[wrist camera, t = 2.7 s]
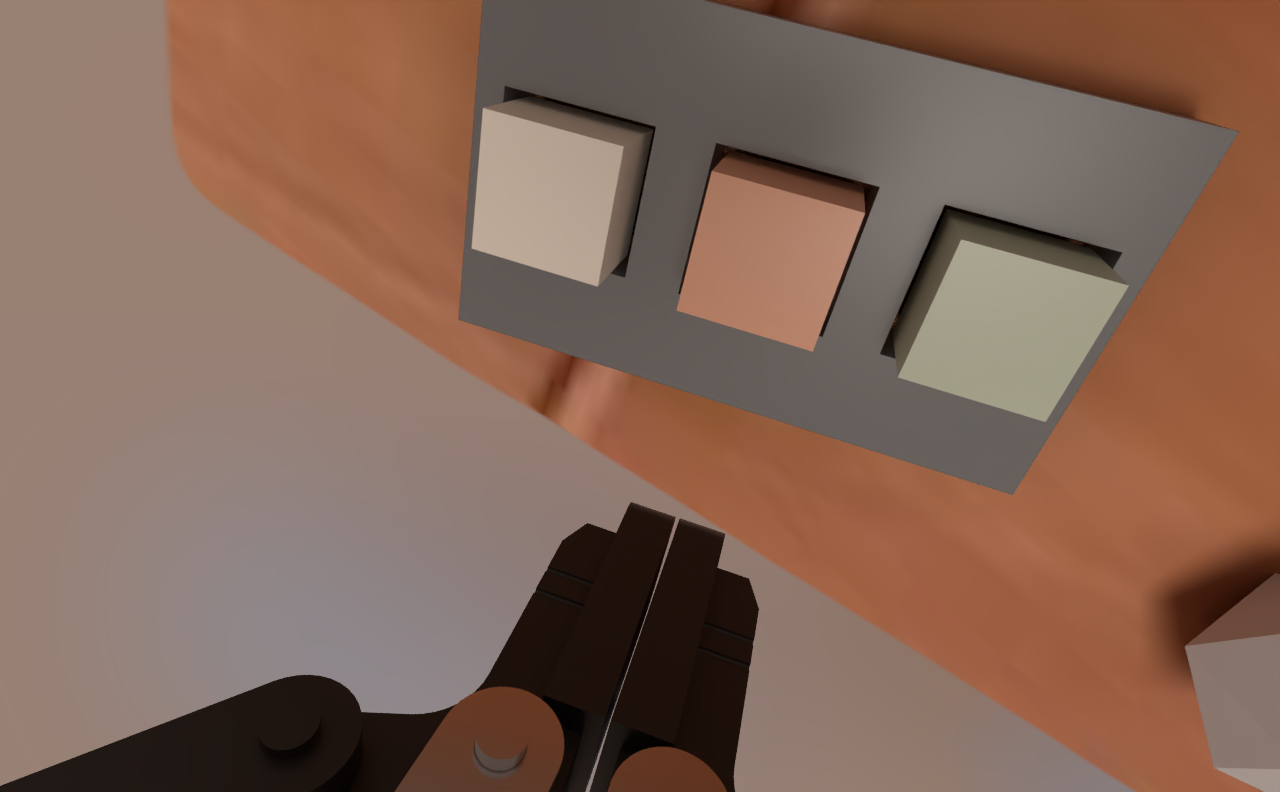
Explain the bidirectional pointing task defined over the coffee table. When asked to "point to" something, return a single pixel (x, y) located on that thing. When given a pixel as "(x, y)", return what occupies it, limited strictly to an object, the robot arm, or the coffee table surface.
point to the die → (1242, 687)
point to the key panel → (840, 145)
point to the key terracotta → (770, 248)
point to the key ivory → (558, 187)
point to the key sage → (1003, 314)
